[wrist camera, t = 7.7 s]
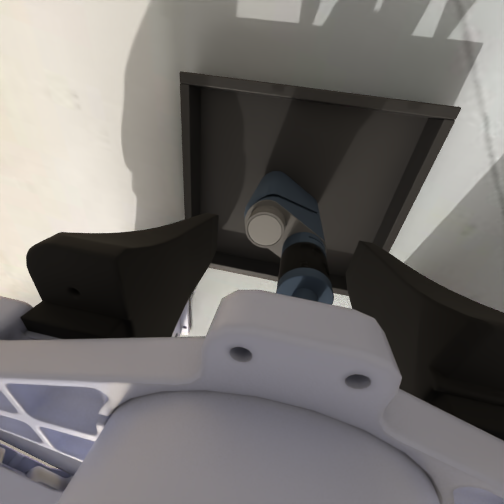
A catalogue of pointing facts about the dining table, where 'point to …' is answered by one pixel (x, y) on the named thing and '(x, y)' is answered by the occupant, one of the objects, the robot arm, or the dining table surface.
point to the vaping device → (291, 236)
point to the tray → (305, 162)
